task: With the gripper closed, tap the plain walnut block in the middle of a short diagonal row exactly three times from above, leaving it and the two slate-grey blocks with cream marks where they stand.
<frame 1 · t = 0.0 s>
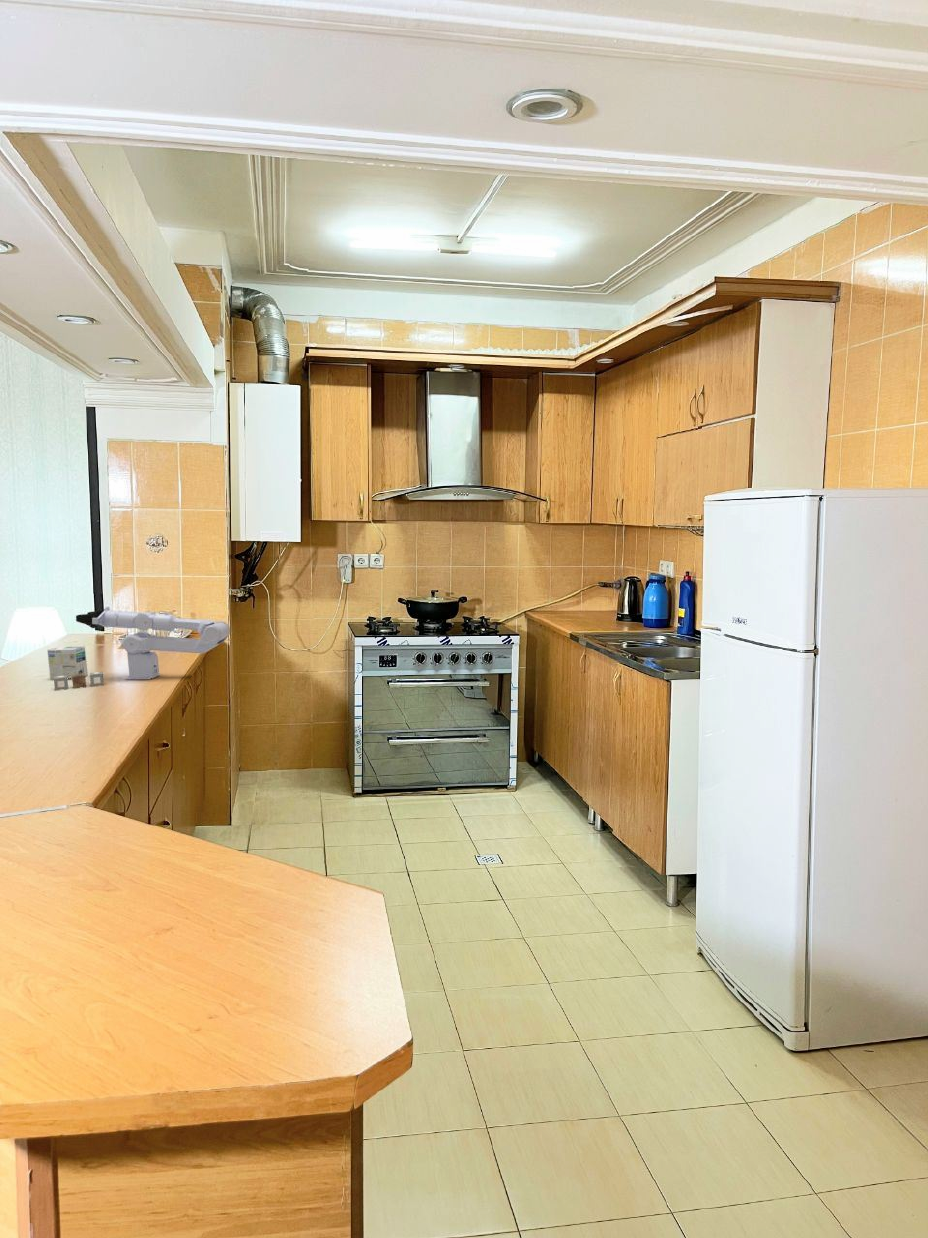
hand: (82, 616, 307), 22 cm above the worktop, tool horizontal, fingers open, 7 cm apart
plain walnut block: (79, 687, 296), on the worktop
marked grey block 2: (97, 685, 298), on the worktop
marked grey block 1: (61, 688, 294), on the worktop
light bulb box: (69, 678, 312), on the worktop
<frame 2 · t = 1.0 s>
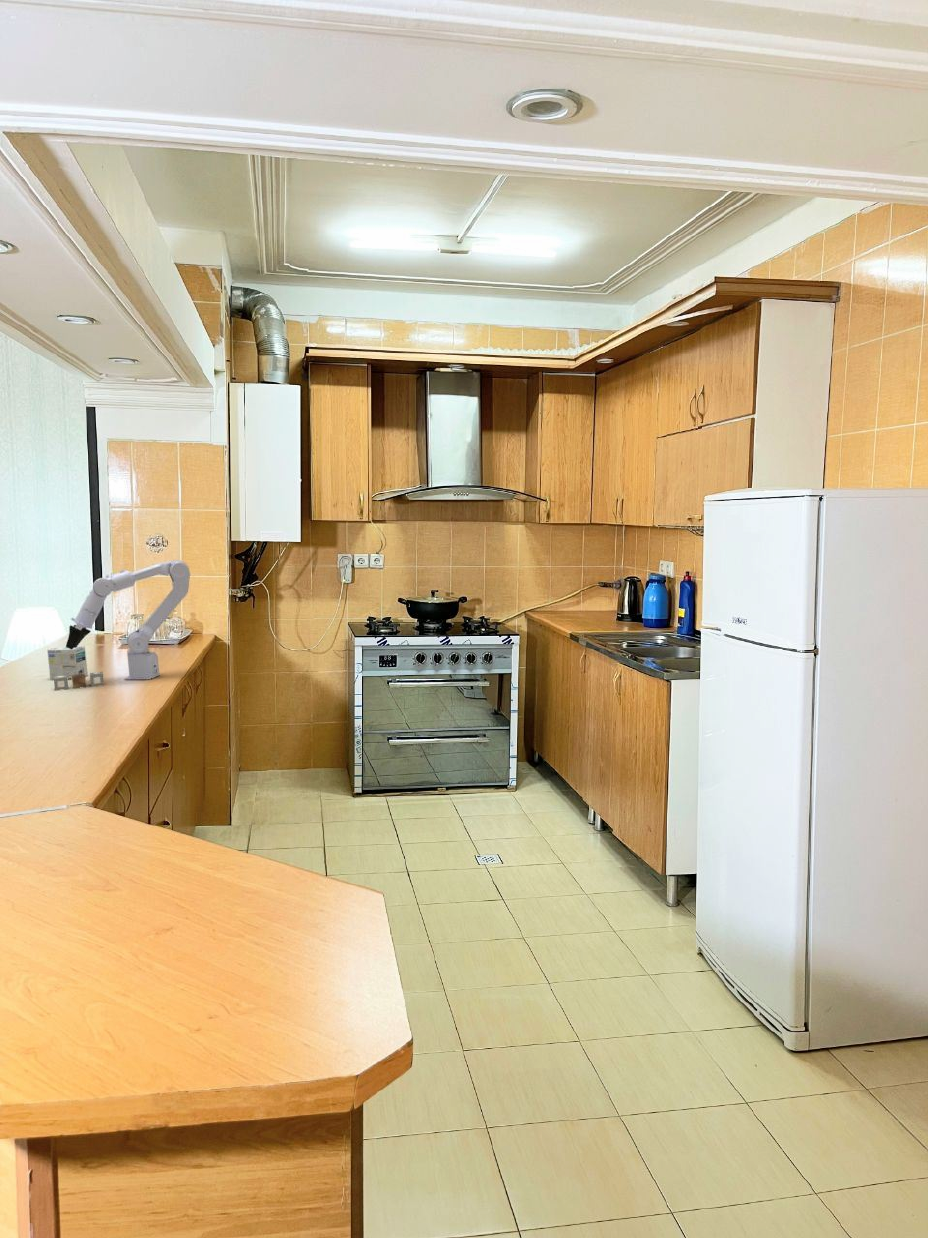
hand: (70, 647, 298), 13 cm above the worktop, tool tilted 30°, fingers open, 7 cm apart
nothing on the worktop moved.
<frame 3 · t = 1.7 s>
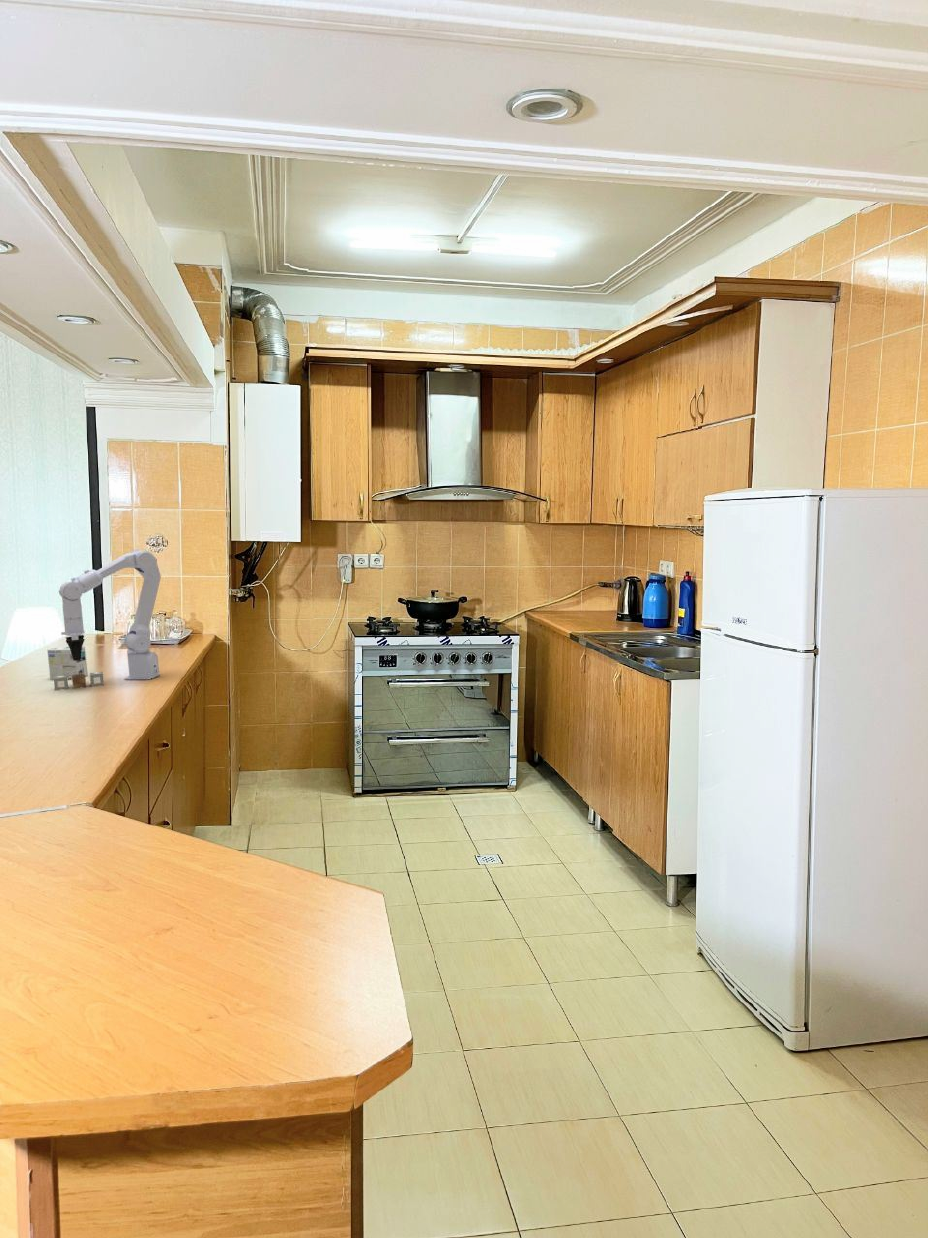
hand: (77, 658, 295), 9 cm above the worktop, tool pointing down, fingers open, 6 cm apart
nothing on the worktop moved.
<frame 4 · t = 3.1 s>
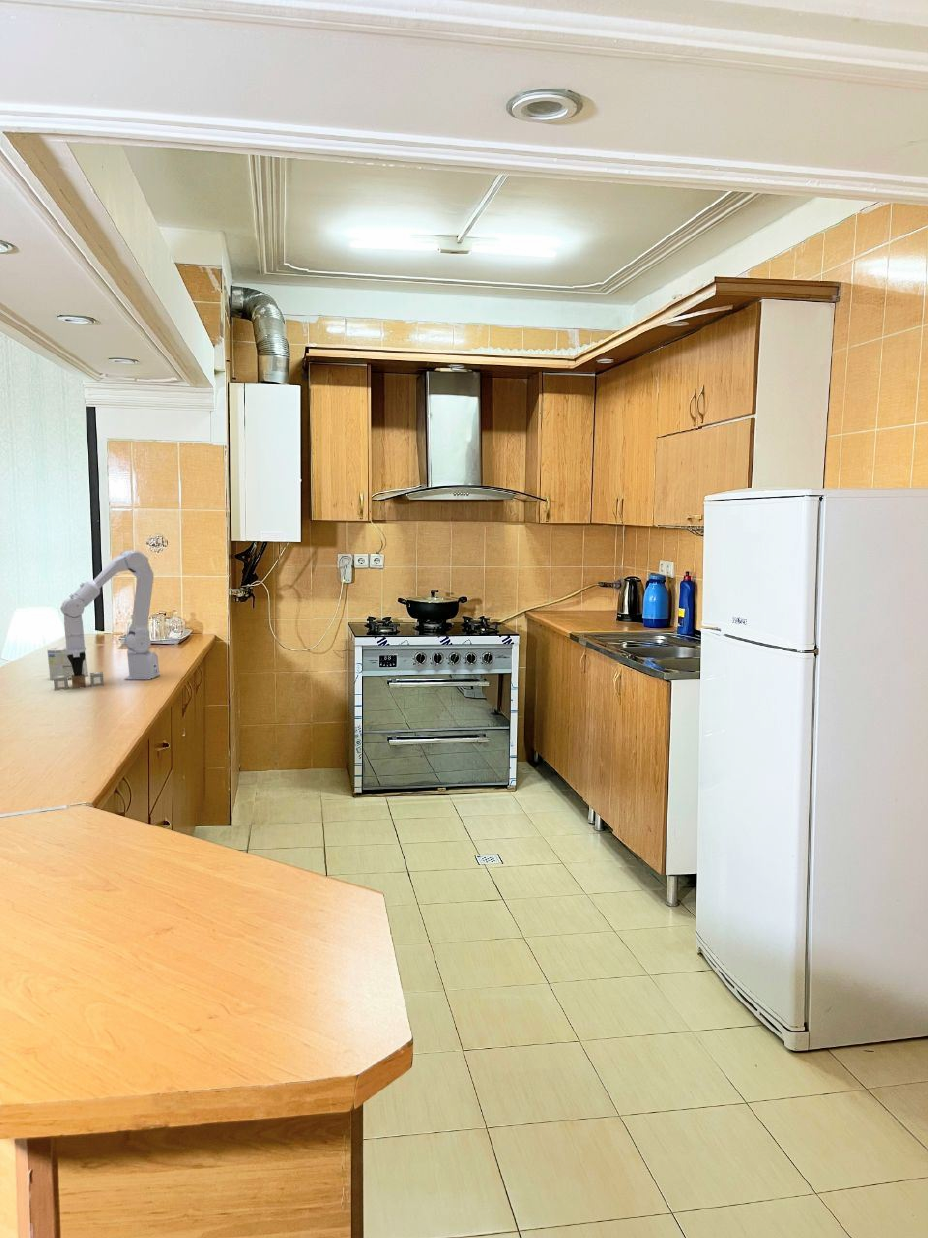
hand: (78, 675, 295), 4 cm above the worktop, tool pointing down, fingers closed, pressing on plain walnut block
plain walnut block: (79, 687, 296), on the worktop, touching gripper
everything else where it was.
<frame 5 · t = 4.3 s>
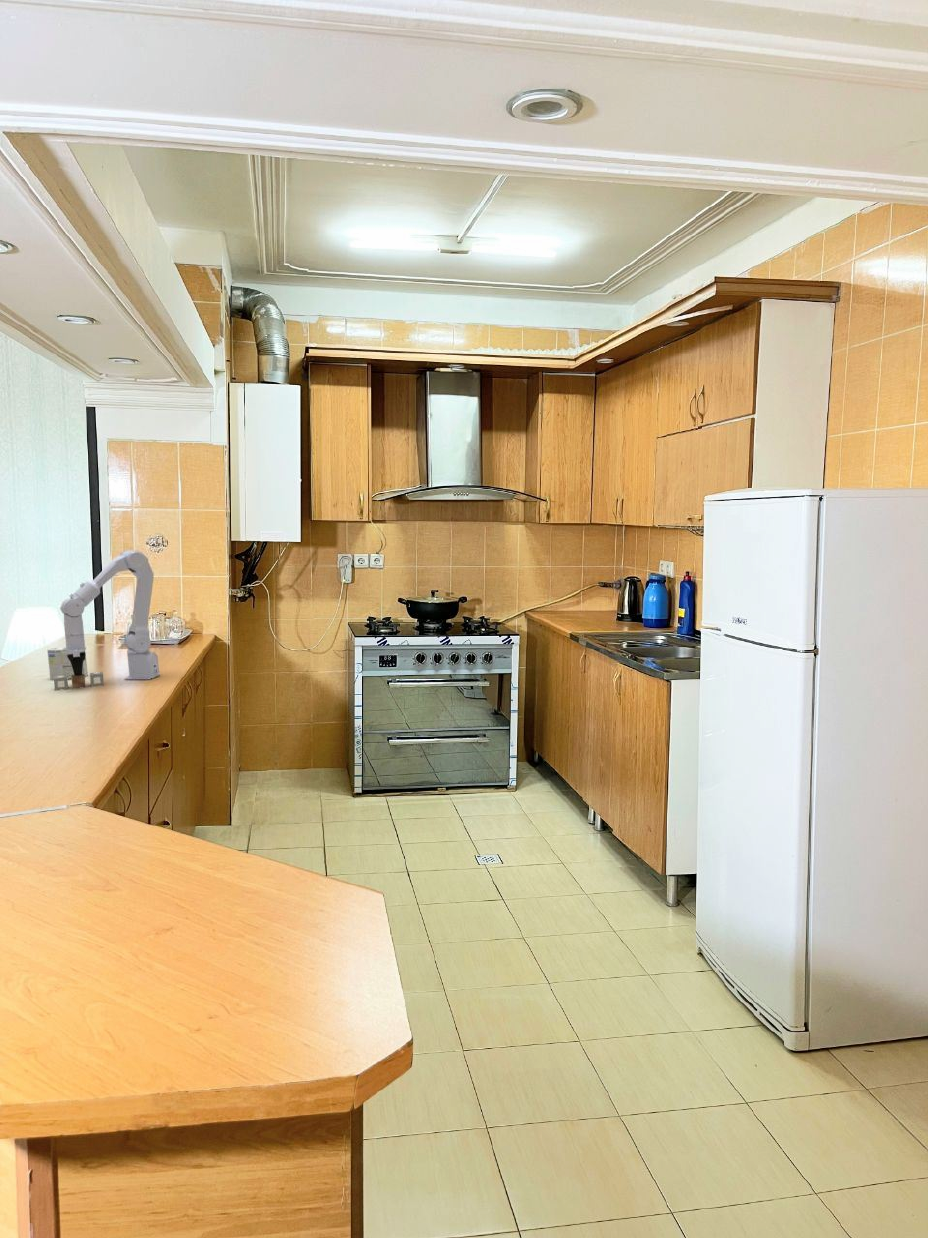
hand: (78, 675, 295), 4 cm above the worktop, tool pointing down, fingers closed, pressing on plain walnut block
plain walnut block: (79, 686, 296), on the worktop, touching gripper
everything else where it was.
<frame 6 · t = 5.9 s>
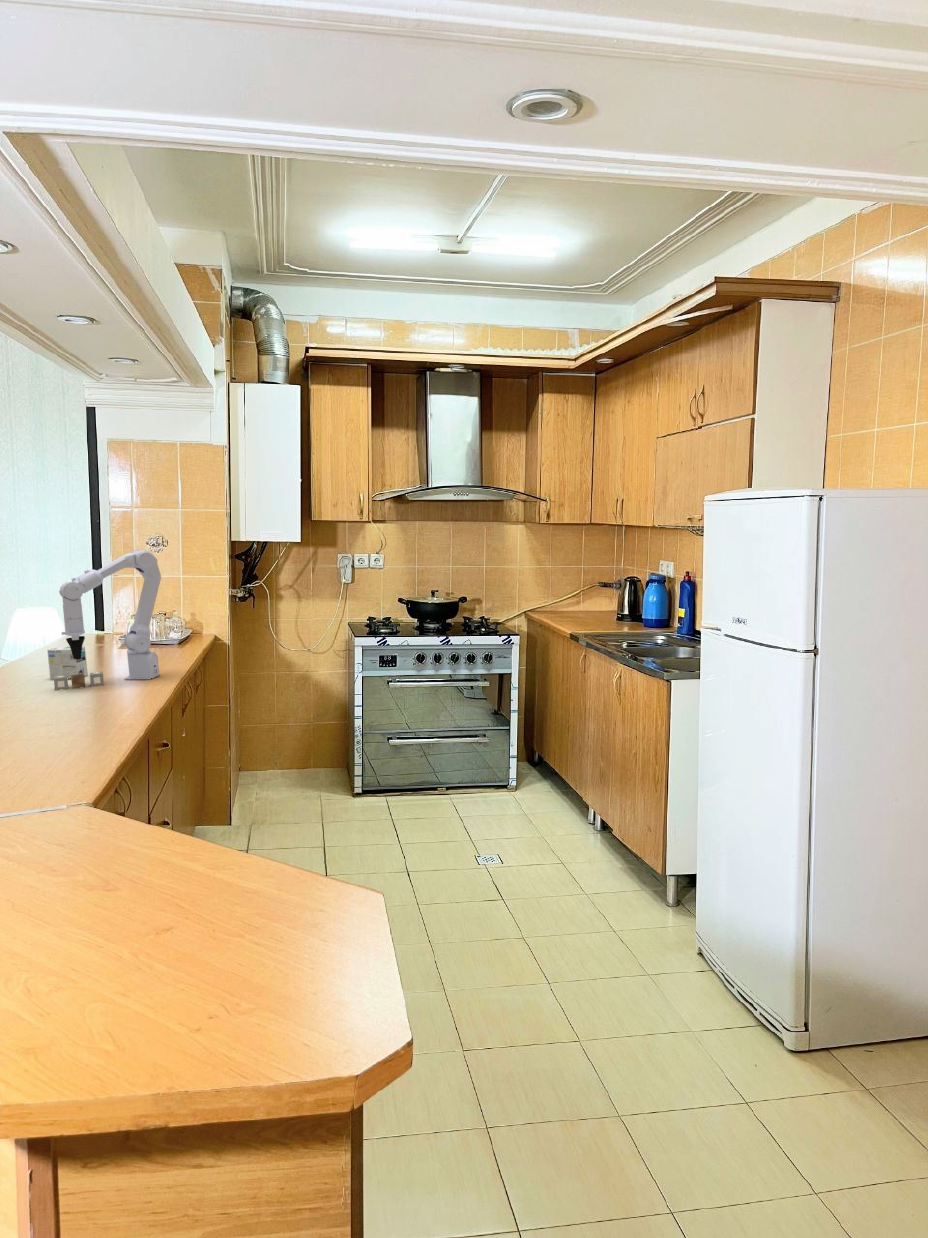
hand: (77, 658, 295), 9 cm above the worktop, tool pointing down, fingers closed
plain walnut block: (78, 687, 296), on the worktop
everything else where it was.
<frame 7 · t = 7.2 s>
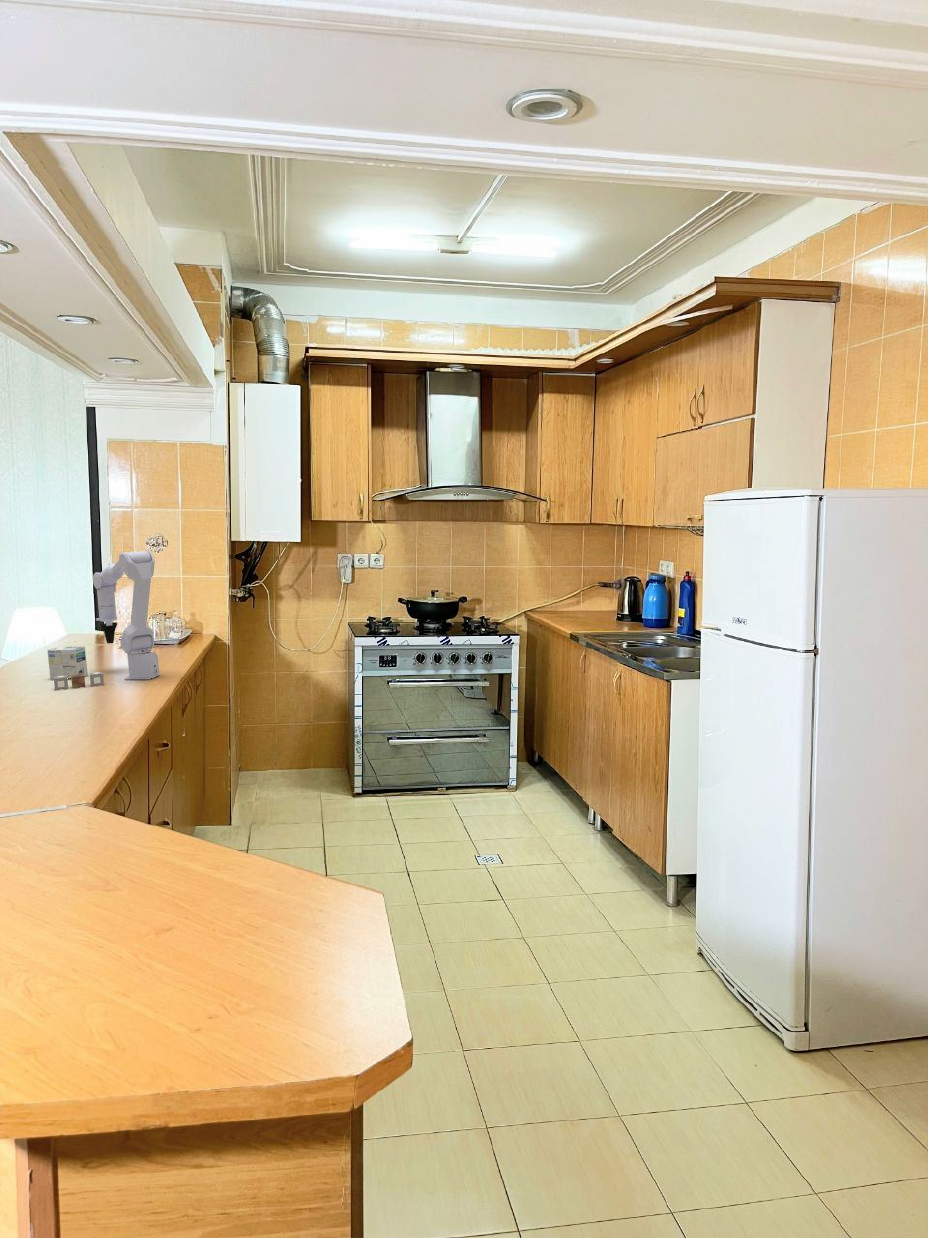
hand: (110, 643, 320), 10 cm above the worktop, tool pointing down, fingers closed
nothing on the worktop moved.
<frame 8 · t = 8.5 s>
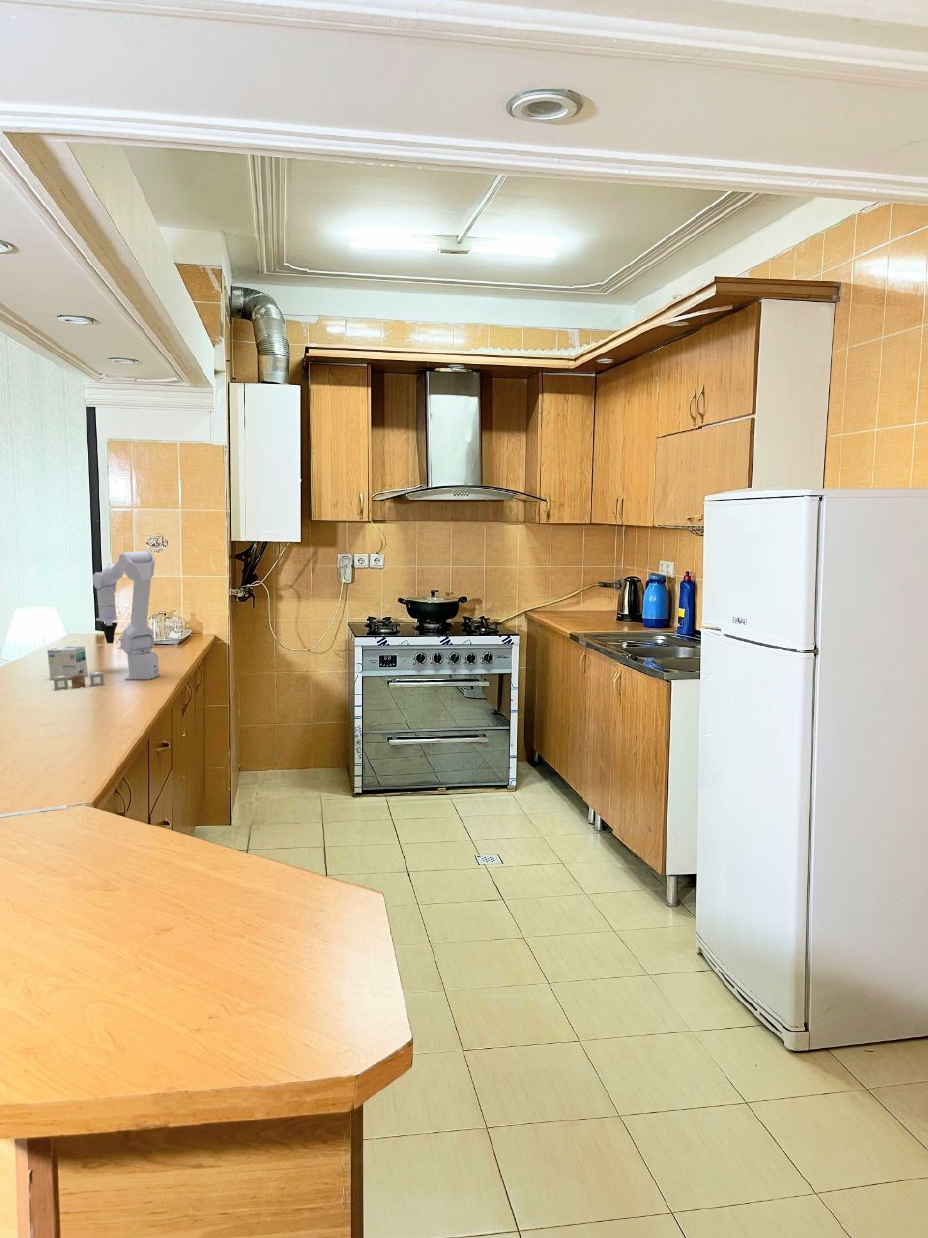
hand: (110, 643, 320), 10 cm above the worktop, tool pointing down, fingers closed
nothing on the worktop moved.
at the end: plain walnut block moved 0.3 cm from its start; marked grey block 2 moved 0.1 cm from its start; marked grey block 1 moved 0.1 cm from its start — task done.
